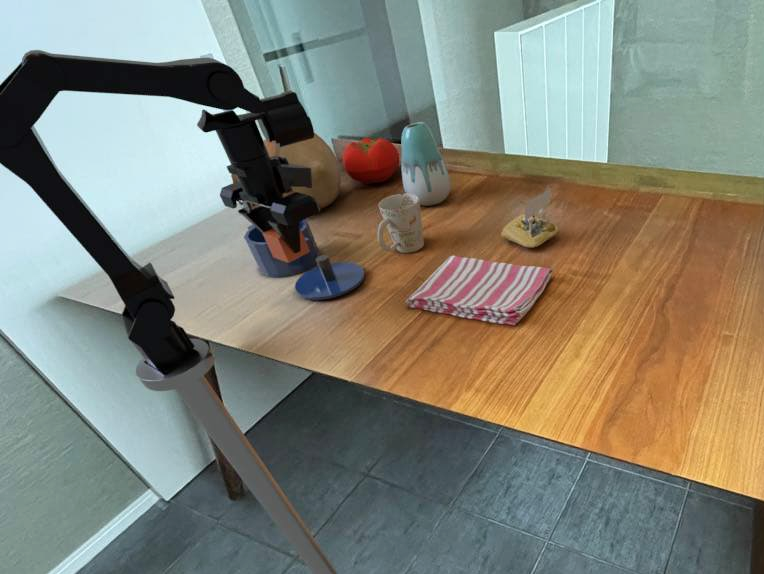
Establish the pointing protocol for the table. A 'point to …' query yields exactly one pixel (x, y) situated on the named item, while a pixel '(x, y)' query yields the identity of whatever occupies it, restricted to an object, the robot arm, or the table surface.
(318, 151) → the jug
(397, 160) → the tomato
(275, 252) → the block
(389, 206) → the mug
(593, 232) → the table surface
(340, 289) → the pot lid
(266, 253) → the pot
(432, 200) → the vase
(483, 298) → the dish towel
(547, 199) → the tan figurine base
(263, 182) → the robot arm
